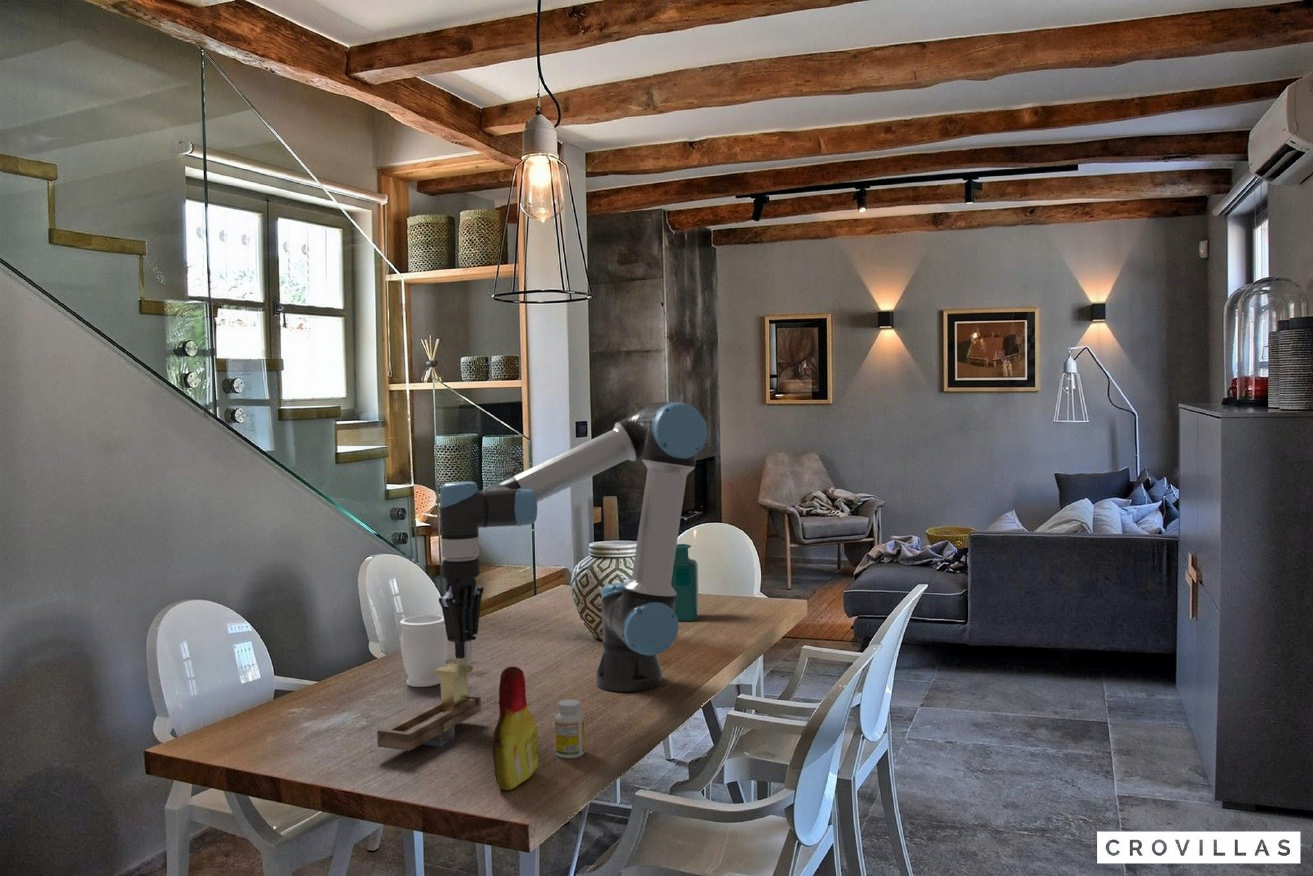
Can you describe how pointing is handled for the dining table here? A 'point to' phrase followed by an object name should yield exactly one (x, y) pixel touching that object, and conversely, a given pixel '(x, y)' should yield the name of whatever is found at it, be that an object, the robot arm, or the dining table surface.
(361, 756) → the dining table surface
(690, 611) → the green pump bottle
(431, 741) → the brown long rectangular frame
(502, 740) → the bottle
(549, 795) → the dining table surface
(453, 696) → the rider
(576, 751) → the supplement bottle
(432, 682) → the jar
